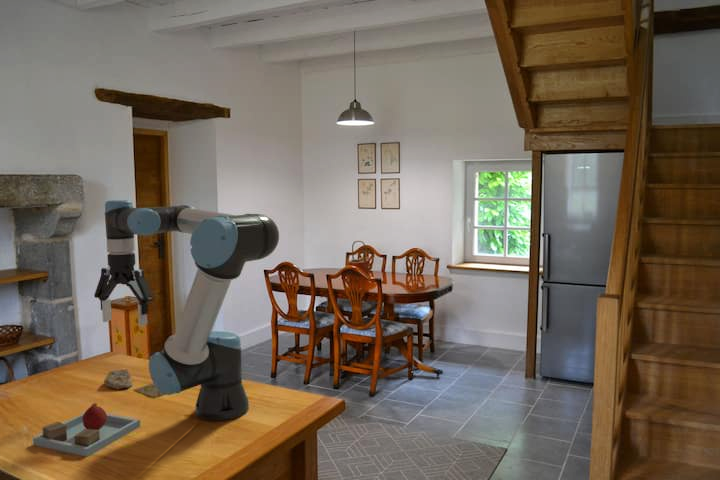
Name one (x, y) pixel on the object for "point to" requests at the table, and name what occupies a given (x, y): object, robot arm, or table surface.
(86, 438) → the walnut cube
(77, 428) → the dish
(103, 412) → the onion
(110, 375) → the rock
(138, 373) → the table surface
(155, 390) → the speckled stone tile
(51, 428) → the walnut cube
